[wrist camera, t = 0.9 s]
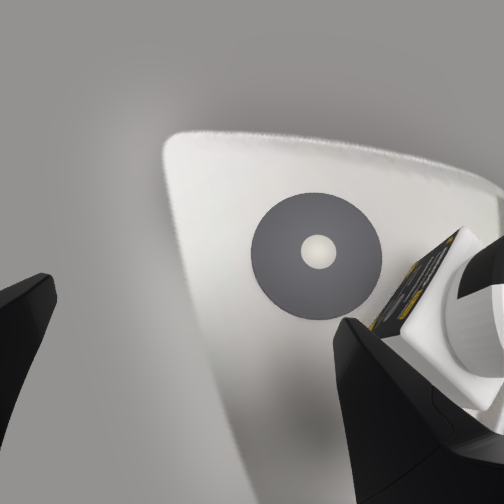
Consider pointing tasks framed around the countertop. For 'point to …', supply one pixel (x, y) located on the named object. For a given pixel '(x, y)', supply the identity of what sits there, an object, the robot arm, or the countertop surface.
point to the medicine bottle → (452, 319)
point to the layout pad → (316, 256)
